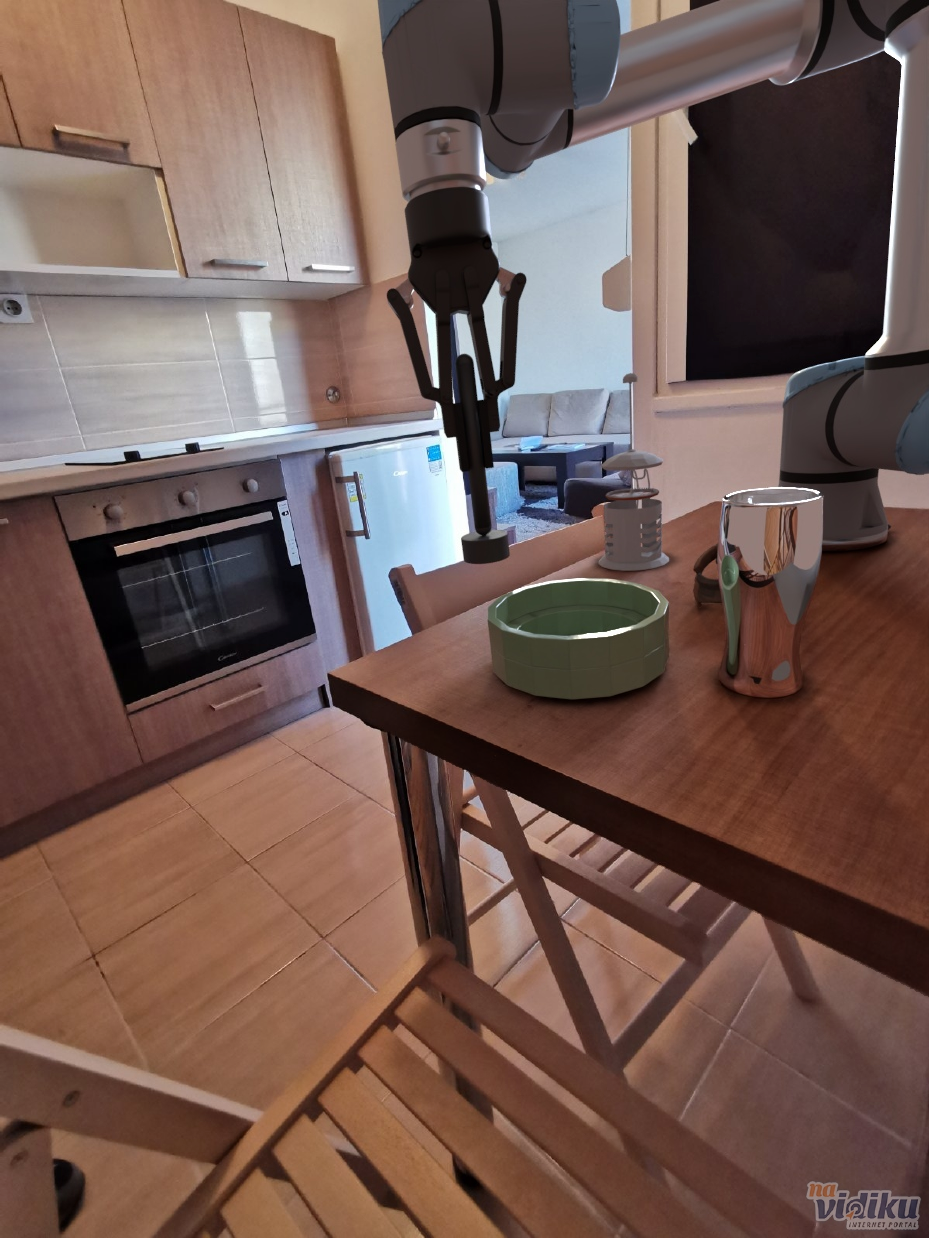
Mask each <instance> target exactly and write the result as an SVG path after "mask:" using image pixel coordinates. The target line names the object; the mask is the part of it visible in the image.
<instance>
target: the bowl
mask: <svg viewBox="0 0 929 1238" xmlns="http://www.w3.org/2000/svg"><path fill="white" fill-rule="evenodd" d="M487 627H488V628H487V629H488V635H489V645H490V654H491V655H490V656H491V663H492V672H493V674H495V675H496V677H498V678H499V679H500V680H501V681H502V682H503V683H504V684H505V685H506V686H508V687H510V688H513V689H515V690H519V691H522V692H524V693H527V694H529V695H533V696H537V697H546V698H556V699H563V700H582V699H584V700H585V699H595V698H607V697H613V696H615V695H619V694H623V693H627V692H629V691H632V690H636V689H640V688H643V687H645V686H646V685H648V684H649V683H650V682H652V681H653V680H655V679H657V678H658V677H660V675H662V674H663V673H664V672H665V671H666V668H667V664H668V661H669V657H670V602H669V601H668V599H667V598H666V597H665V596H664V595H663V594H662V593H661V592H660V590H657V589H656V588H652V587H649V586H646V585H644V584H641V583H639V582H633V581H627V580H621V579H614V578H595V577H594V578H591V577H590V578H589V577H584V578H583V577H581V578H580V577H578V578H569V579H558V580H549V581H545V582H539V583H536V584H531V585H526V586H523V587H519V588H518V589H514V590H512V591H510V592H508V593H505V594H502V595H500V596H499V597H498V598H497V599H496V600H494V601H493V602H492V603H491V604H490V605H489V606H488V607H487Z"/></svg>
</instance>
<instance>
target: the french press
mask: <svg viewBox="0 0 929 1238" xmlns="http://www.w3.org/2000/svg"><path fill="white" fill-rule="evenodd" d="M638 381H639V380H638V375H637V374H636V373H634V372H629V373H626V374H625V375H624V376H623V378H622V384H628V387H629V391H628V393H629V434H630V435H629V440H630V441H629V442H630V443H629V444H630V446H629V447H630V448H629V449H628V450H627V451H623V452H621V453H617V454H615V455H612V456H611V457H609V458H607V459H606V460H605V461H604V462H603V463H602V464H601V465H600V467H601V468H602V469H603V470H605V471H612V472H621V471H626V472H627V471H630V488H620V489H615V490H613V491H612V490H611V491H608V492H607V493H606V494H605V498H606V499H608V500H611V501H610V502H607V503H605V504H603V519H604V520H603V525H604V527H603V528H604V531H603V532H604V533H605V534H604V541H605V542H604V555H602V556H601V558H600V559H599V560H598V563H597V564H598V565H599V566H601V567H602V568H605V569H608V570H613V571H622V572H623V571H624V572H625V571H626V572H627V571H628V572H629V571H630V572H631V571H645V570H652V569H656V568H660V567H663V566H665V565H666V564H668V563H669V562H670V558H669V556H668V555H666V554H665V553H664V552H663V523H662V521H663V501H661V500H659V499H655V498H654V497H657V496H658V495H659V494H660V489H657V488H654V487H652V488H651V481H650V475H649V470H648V469H651V468H656V467H657V468H658V467H659V466H661V465H662V464H663V462H664V459H663V458H661V457H660V456H658V455H657V454H654V453H651V452H648V451H643V450H636V449H634V448H633V425H632V423H633V422H632V421H633V419H632V413H633V412H632V384H633V383H638ZM637 470H643V475H642V476H640V477H638V474H637ZM645 478H647V484H648V485H647V487H643V488H641V487H640V486H639V480H644V479H645ZM633 480H635V482H636V487H633V486H634V483H633ZM639 501H641V508H639ZM605 524H606V525H605Z"/></svg>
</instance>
